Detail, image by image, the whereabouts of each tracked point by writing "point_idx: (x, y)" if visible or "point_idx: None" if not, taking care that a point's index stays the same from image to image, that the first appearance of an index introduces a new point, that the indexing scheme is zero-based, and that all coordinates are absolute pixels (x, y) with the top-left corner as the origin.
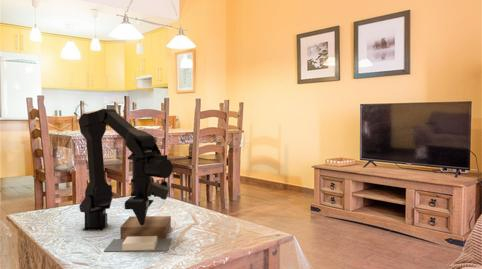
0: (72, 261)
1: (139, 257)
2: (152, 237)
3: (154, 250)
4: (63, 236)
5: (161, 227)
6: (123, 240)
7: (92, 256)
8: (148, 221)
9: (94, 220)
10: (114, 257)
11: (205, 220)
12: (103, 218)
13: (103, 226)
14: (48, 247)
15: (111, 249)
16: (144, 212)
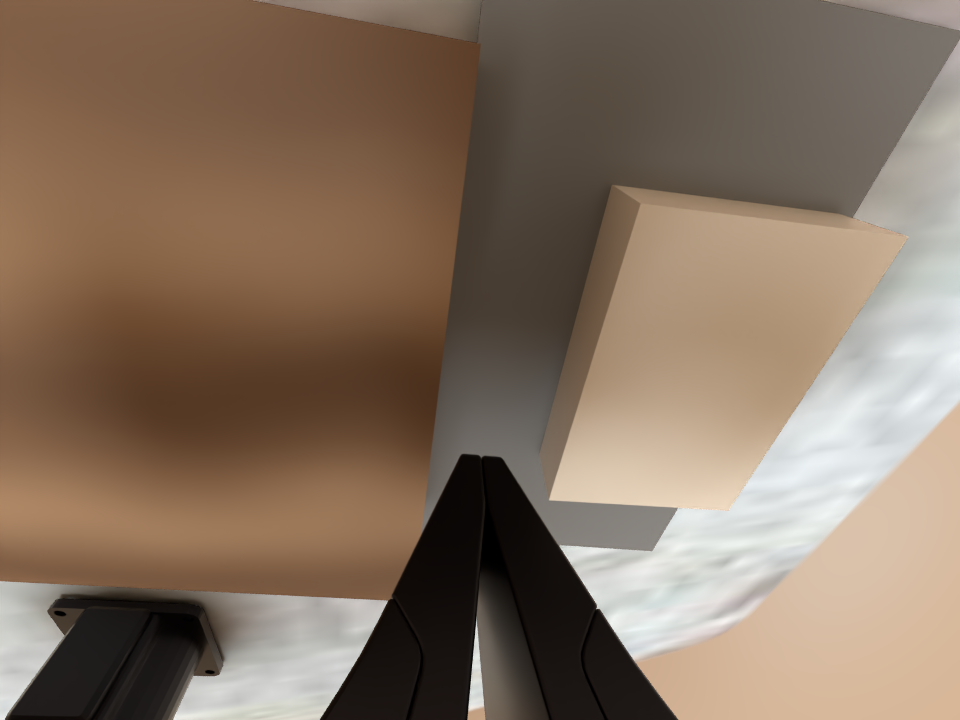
0: (708, 619)
1: (881, 335)
2: (675, 269)
3: (853, 211)
4: (327, 695)
5: (467, 145)
6: None
7: (681, 572)
8: (139, 383)
9: (163, 711)
10: (765, 483)
11: None
12: (107, 692)
13: (152, 619)
14: (481, 701)
15: (644, 521)
16: (661, 715)
